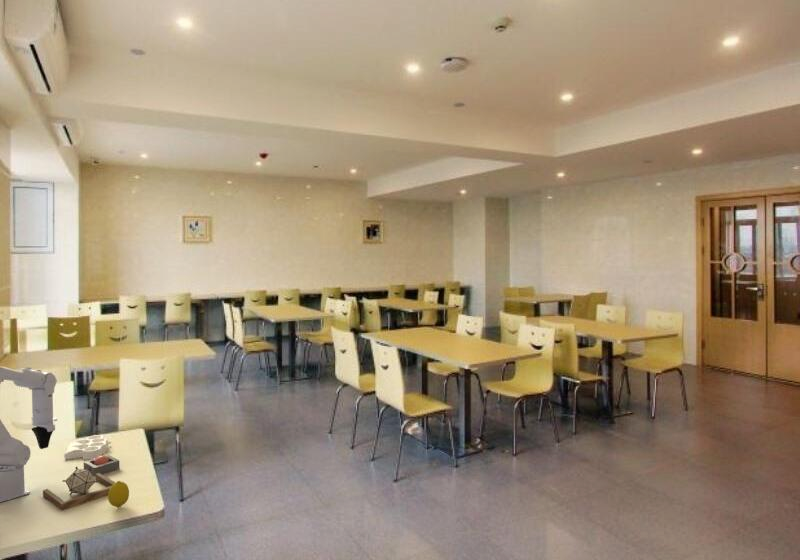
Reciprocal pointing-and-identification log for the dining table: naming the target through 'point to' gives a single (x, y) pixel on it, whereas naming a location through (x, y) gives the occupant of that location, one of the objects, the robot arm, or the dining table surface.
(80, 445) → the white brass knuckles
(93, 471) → the dome housing
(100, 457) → the salmon ball
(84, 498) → the brown wooden u shape
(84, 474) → the game die
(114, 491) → the lemon
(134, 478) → the dining table surface
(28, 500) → the dining table surface
